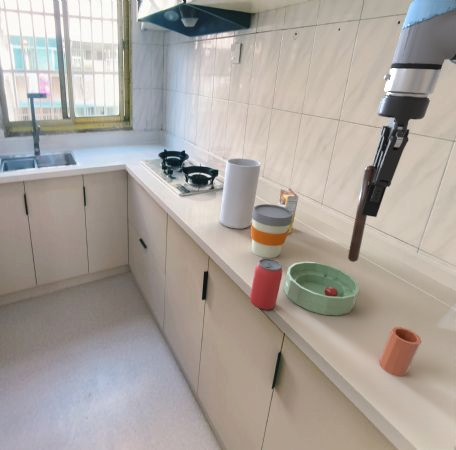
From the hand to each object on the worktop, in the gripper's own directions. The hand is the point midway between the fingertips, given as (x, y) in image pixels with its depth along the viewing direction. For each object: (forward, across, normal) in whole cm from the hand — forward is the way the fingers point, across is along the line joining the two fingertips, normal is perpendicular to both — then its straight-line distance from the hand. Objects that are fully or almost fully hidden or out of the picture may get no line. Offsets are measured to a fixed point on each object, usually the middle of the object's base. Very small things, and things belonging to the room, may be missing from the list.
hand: (368, 212), depth 72 cm
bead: (+26, -9, -1) cm, 28 cm away
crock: (+29, +12, +11) cm, 33 cm away
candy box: (+29, -52, -17) cm, 62 cm away
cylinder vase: (+29, -48, -35) cm, 66 cm away
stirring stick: (+12, 0, 0) cm, 12 cm away
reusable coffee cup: (+29, -29, -21) cm, 46 cm away
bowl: (+29, -9, -4) cm, 30 cm away
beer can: (+29, +1, -17) cm, 34 cm away
